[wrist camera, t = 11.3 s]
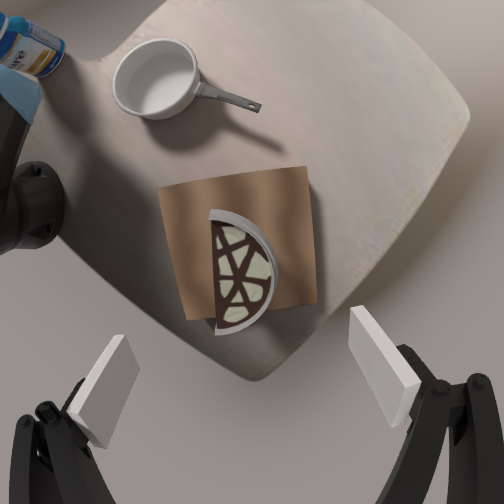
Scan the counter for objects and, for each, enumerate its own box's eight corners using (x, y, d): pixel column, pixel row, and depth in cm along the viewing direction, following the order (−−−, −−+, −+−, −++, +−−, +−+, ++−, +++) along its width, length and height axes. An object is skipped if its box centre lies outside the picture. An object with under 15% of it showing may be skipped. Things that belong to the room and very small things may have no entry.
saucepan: (240, 155, 35) (240, 152, 29) (116, 113, 32) (98, 106, 27) (273, 83, 32) (278, 69, 26) (148, 47, 29) (136, 32, 24)
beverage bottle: (74, 35, 26) (7, -5, 7) (57, 76, 29) (-21, 50, 9) (43, 42, 25) (-21, 14, 6) (29, 81, 28) (-44, 64, 9)
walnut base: (192, 303, 41) (186, 320, 36) (168, 186, 36) (157, 188, 31) (309, 288, 41) (317, 303, 36) (298, 166, 35) (306, 166, 31)
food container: (269, 295, 35) (277, 339, 26) (221, 295, 35) (214, 339, 25) (271, 199, 32) (283, 211, 22) (218, 199, 31) (207, 212, 22)
